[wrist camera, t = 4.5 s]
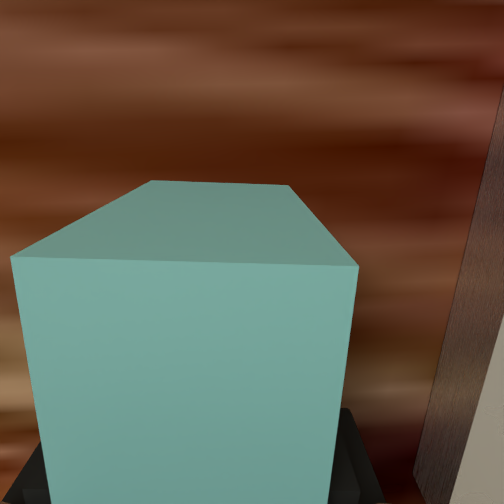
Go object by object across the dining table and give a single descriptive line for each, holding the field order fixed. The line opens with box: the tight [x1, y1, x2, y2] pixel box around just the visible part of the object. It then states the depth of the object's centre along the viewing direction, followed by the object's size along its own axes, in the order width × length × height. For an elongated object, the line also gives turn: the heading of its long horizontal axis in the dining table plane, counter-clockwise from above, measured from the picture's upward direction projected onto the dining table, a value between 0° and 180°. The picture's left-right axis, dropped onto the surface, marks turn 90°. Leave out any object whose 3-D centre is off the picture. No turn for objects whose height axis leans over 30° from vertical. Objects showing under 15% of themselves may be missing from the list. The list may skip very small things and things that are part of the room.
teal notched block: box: [10, 180, 359, 504], centre depth 9 cm, size 11×4×7 cm, turn 178°
